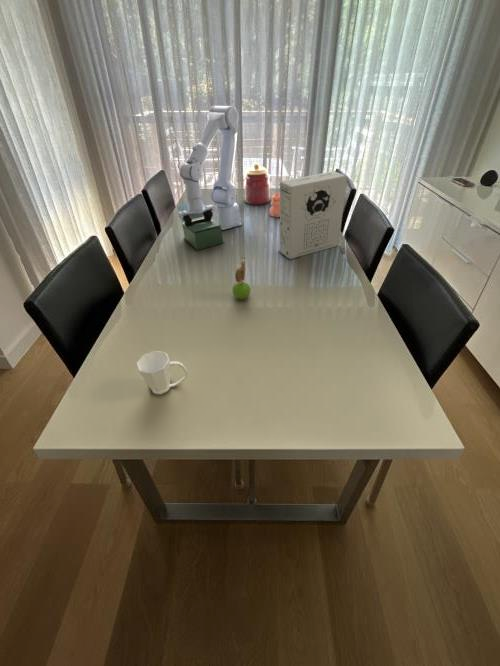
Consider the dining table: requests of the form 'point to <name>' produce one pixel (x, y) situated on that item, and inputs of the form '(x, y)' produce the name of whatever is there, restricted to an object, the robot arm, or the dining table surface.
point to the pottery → (275, 205)
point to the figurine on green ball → (241, 283)
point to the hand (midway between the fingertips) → (199, 231)
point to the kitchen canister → (257, 185)
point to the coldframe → (203, 233)
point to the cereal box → (311, 213)
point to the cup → (158, 371)
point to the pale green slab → (185, 206)
